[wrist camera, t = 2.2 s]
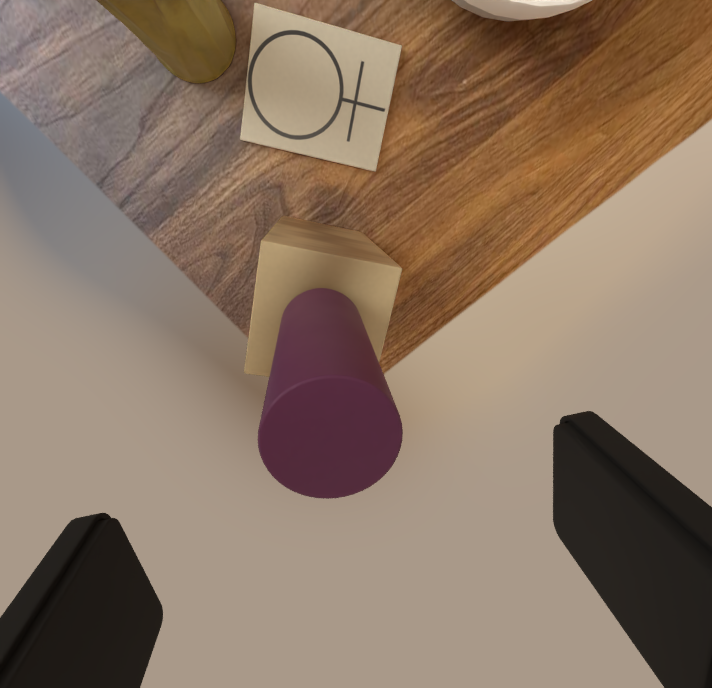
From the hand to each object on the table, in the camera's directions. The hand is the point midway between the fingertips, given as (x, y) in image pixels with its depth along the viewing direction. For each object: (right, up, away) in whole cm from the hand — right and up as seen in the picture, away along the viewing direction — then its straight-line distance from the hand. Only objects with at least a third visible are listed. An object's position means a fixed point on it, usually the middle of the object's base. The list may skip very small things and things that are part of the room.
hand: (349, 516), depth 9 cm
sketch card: (-3, +23, +23) cm, 33 cm away
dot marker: (-2, +5, +12) cm, 13 cm away
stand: (-3, +11, +28) cm, 30 cm away
